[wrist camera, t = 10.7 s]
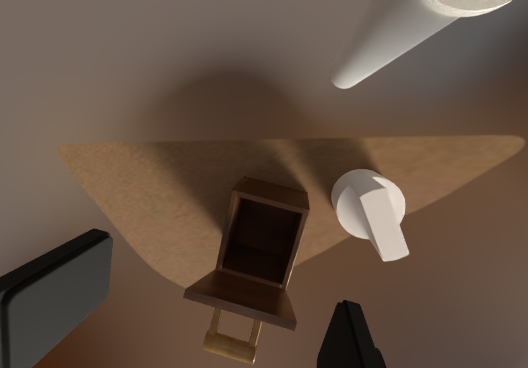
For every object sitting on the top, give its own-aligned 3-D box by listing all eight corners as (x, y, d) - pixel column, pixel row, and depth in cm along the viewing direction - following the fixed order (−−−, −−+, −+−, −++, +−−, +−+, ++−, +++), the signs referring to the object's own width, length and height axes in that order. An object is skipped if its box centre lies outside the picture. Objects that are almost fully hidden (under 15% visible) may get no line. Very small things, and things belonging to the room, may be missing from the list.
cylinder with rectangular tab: (397, 211, 41) (437, 247, 29) (342, 230, 42) (359, 270, 31) (379, 160, 39) (413, 175, 28) (322, 181, 41) (333, 204, 29)
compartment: (245, 175, 42) (232, 189, 34) (307, 192, 42) (310, 210, 33) (230, 242, 46) (215, 270, 37) (288, 258, 45) (285, 290, 36)
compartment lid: (185, 288, 24) (167, 348, 23) (297, 321, 23) (282, 384, 22) (214, 269, 37) (204, 306, 36) (286, 289, 36) (277, 328, 35)
